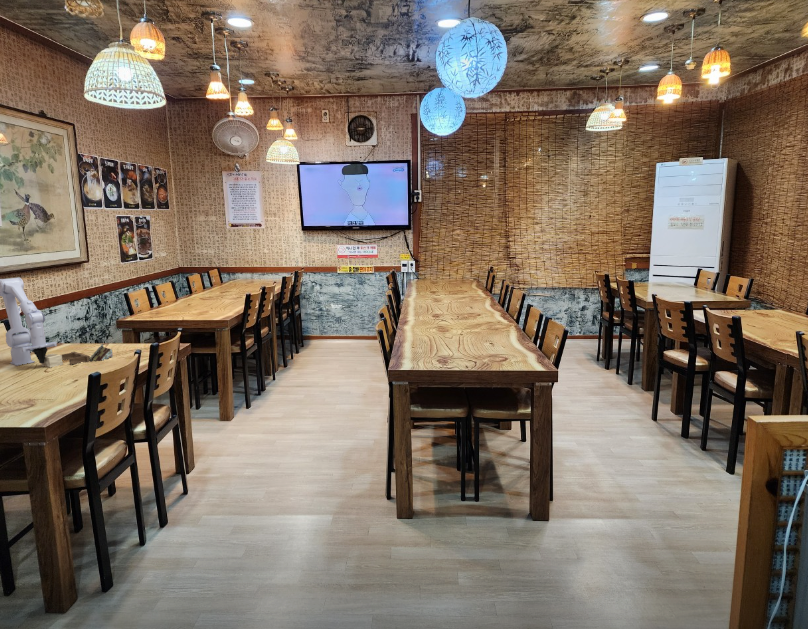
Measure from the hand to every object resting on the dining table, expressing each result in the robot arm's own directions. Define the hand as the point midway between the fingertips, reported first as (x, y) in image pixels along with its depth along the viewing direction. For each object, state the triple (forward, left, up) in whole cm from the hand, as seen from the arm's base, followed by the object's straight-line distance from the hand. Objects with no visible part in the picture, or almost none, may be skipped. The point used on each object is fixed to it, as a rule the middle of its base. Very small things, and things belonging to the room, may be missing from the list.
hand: (41, 362), depth 258 cm
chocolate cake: (+9, +25, -3) cm, 27 cm away
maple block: (0, +5, -2) cm, 5 cm away
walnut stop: (0, +14, -2) cm, 14 cm away
